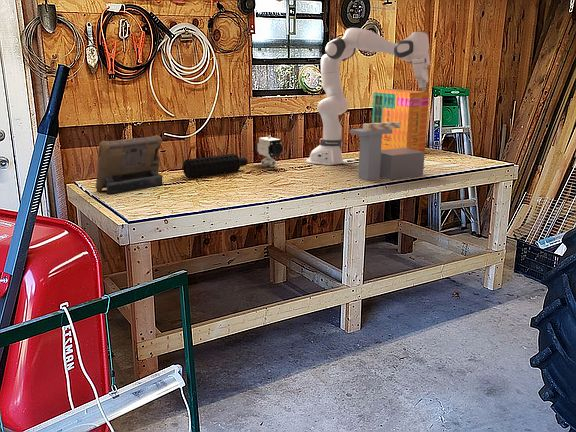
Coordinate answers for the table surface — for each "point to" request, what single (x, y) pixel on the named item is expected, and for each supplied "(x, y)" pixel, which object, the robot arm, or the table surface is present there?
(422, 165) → the block
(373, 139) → the stand
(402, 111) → the orange green grid box
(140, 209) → the table surface
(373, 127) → the bar
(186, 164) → the roller
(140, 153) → the tablet
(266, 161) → the white security camera
